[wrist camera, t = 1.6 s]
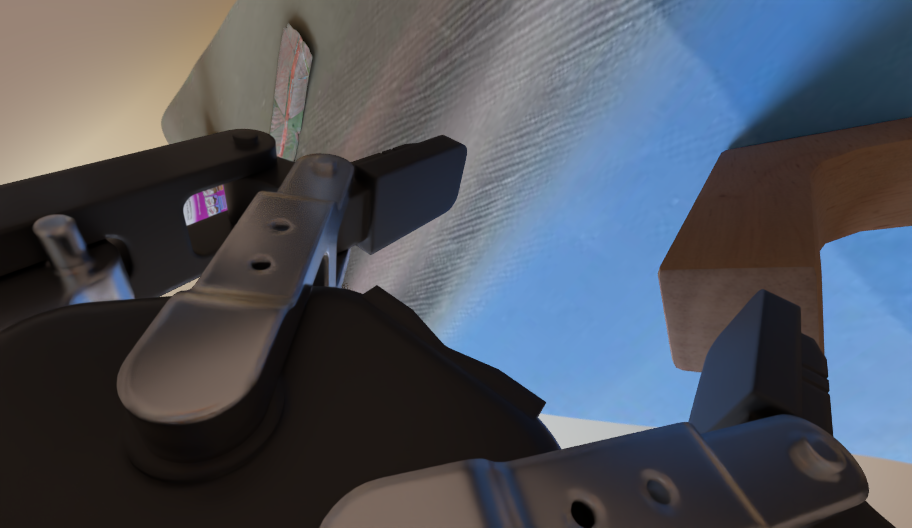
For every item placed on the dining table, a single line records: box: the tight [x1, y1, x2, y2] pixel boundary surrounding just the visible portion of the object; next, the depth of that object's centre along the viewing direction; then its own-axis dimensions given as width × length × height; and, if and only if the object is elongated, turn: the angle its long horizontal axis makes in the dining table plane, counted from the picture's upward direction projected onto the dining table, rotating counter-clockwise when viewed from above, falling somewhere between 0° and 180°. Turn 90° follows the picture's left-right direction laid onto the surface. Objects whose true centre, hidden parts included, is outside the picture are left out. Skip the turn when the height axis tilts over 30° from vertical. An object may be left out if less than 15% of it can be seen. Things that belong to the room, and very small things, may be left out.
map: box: [270, 23, 313, 162], centre depth 51 cm, size 5×20×1 cm, turn 149°
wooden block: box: [658, 117, 912, 372], centre depth 19 cm, size 9×4×18 cm, turn 112°
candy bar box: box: [183, 185, 227, 225], centre depth 63 cm, size 11×5×16 cm, turn 170°
